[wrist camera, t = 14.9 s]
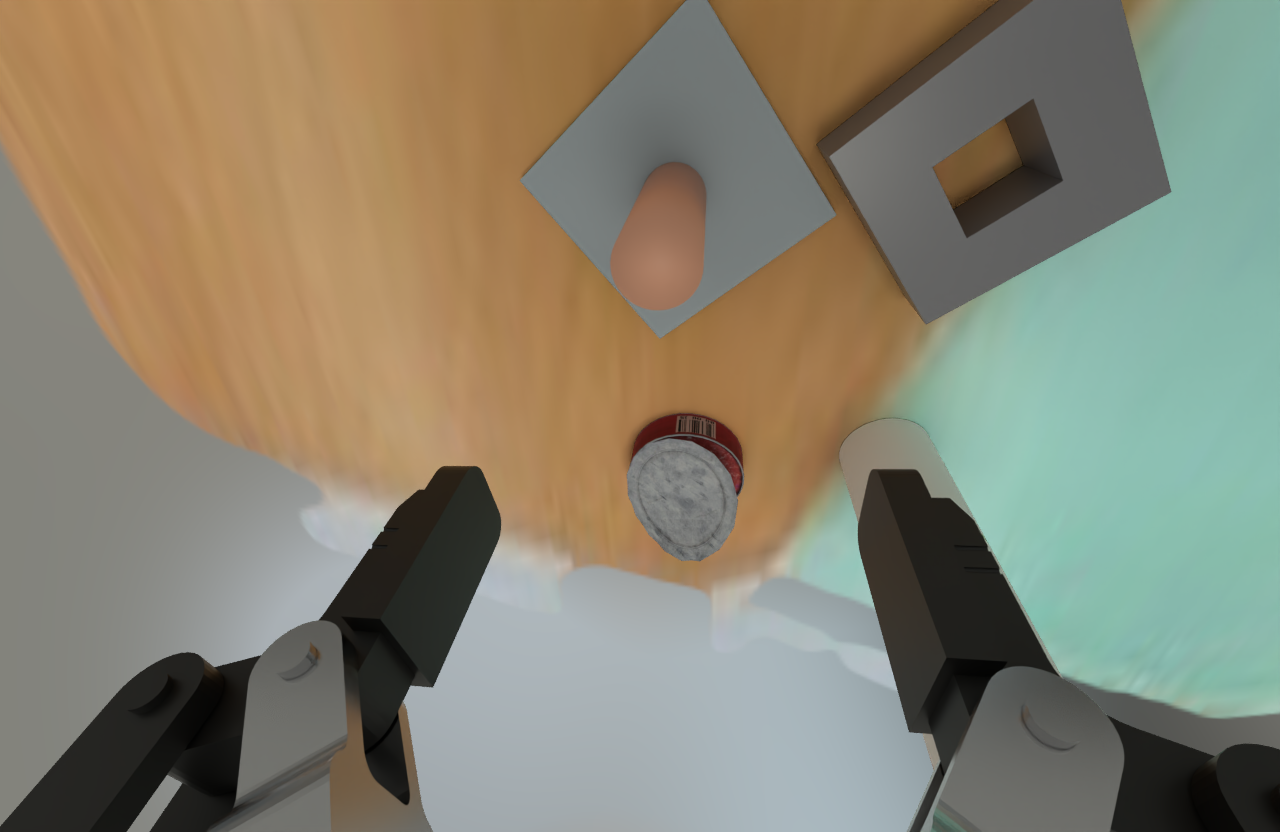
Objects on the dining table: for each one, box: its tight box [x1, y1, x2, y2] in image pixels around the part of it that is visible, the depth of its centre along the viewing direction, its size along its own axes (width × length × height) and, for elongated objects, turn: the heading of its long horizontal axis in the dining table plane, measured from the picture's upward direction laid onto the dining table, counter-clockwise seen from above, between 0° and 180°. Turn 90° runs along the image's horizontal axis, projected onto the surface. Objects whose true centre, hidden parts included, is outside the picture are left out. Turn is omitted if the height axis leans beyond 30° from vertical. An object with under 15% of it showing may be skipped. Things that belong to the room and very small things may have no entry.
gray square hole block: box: [817, 0, 1171, 324], centre depth 27 cm, size 12×12×4 cm
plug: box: [610, 162, 707, 310], centre depth 26 cm, size 4×4×12 cm
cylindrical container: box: [839, 418, 1062, 769], centre depth 31 cm, size 7×7×25 cm
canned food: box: [627, 413, 744, 561], centre depth 42 cm, size 11×10×10 cm
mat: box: [520, 0, 836, 338], centre depth 31 cm, size 14×14×1 cm
